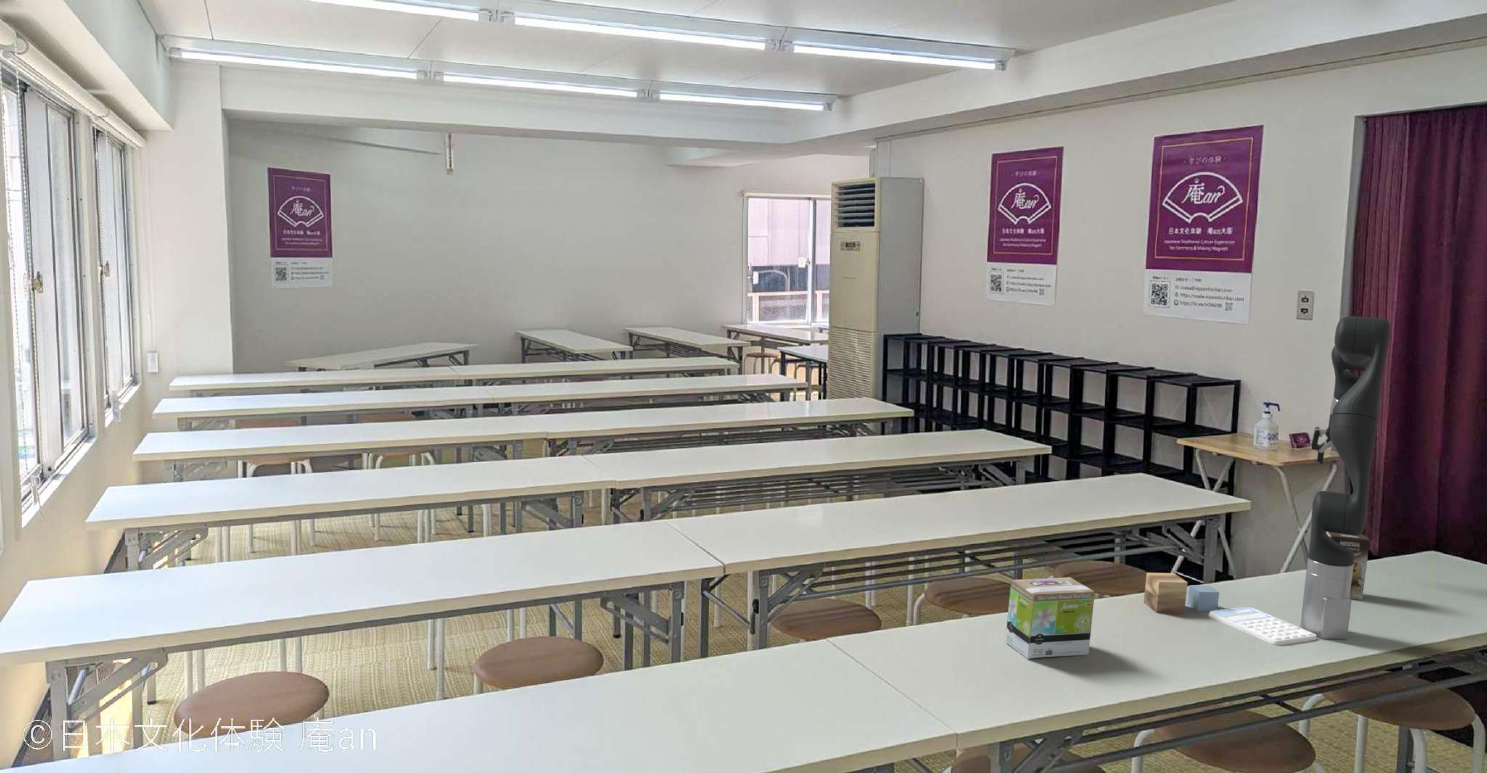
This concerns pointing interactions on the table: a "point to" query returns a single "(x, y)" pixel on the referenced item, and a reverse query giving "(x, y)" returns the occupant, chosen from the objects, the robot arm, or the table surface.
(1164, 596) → the top block
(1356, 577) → the coffee box
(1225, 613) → the calculator
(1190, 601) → the blue cube
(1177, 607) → the base block
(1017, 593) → the tea box
